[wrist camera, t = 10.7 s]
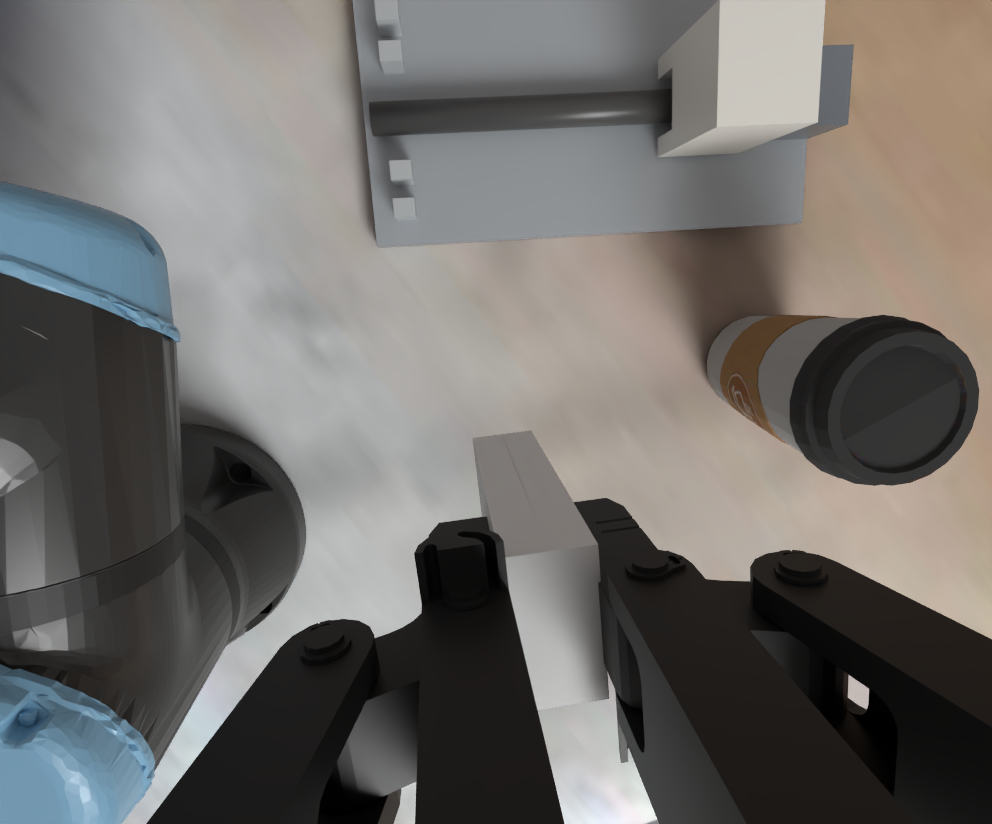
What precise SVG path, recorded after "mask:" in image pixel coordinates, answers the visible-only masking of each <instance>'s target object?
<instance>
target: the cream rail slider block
mask: <svg viewBox="0 0 992 824" xmlns="http://www.w3.org/2000/svg"><path fill="white" fill-rule="evenodd" d="M824 14H825V0H718V1H717V2H716V3H715V4H714V5H713V6H712V7H711V8H710V9H709V10H708V11H707V12H706V13H705V14H704V15H703V16H702V17H701V18H700V19H699V20H698V21H697V22H696V23H695V24H694V25H693V26H692V27H691V28H690V29H689V30H688V31H687V32H686V33H685V34H683V35H682V36H681V37H680V38H679V39H678V40H677V41H676V42H675V43H674V44H673V45H672V46H671V47H670V48H669V49H668V50H667V51H666V52H665V53H664V54H663V55H662V56H661V57H660V58H659V59H658V80H668V79H672V130H670V131H668V132H667V133H665V134H663V135H662V136H660V137H659V138H658V157H677V156H697V155H718V154H737V153H740V152H743V151H745V150H748V149H750V148H753V147H755V146H758V145H761V144H763V143H766V142H768V141H771V140H773V139H776V138H779V137H781V136H784V135H786V134H789V133H792V132H794V131H797V130H799V129H802V128H804V127H807V126H810V125H812V124H815V123H817V122H818V112H819V96H820V80H821V63H822V47H823V31H824Z"/></svg>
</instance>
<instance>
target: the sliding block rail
mask: <svg viewBox="0 0 992 824" xmlns="http://www.w3.org/2000/svg"><path fill="white" fill-rule="evenodd" d="M352 1H353V11H354V21H355V31H356V41H357V51H358V61H359V71H360V81H361V91H362V101H363V111H364V121H365V131H366V141H367V151H368V161H369V171H370V181H371V191H372V201H373V211H374V221H375V231H376V241H377V247H379V248H384V247H402V246H419V245H437V244H454V243H472V242H489V241H507V240H524V239H542V238H559V237H577V236H594V235H612V234H630V233H647V232H665V231H682V230H700V229H717V228H735V227H752V226H770V225H787V224H796V223H802V216H803V198H804V181H805V163H806V146H807V139H808V138H811V137H813V136H816V135H819V134H822V133H825V132H828V131H830V130H833V129H836V128H839V127H842V126H845V125H847V124H848V117H849V103H850V89H851V75H852V61H853V47H854V45H829V46H823V47H822V63H821V80H820V96H819V112H818V122H817V123H815V124H812V125H810V126H807V127H804V128H802V129H799V130H797V131H794V132H792V133H789V134H786V135H784V136H781V137H779V138H776V139H773V140H771V141H768V142H766V143H763V144H761V145H758V146H755V147H753V148H750V149H748V150H745V151H743V152H740V153H737V154H718V155H697V156H677V157H658V138H659V137H660V136H662V135H663V134H665V133H667V132H668V131H670V130H672V79H668V80H658V59H659V58H660V57H661V56H662V55H663V54H664V53H665V52H666V51H667V50H668V49H669V48H670V47H671V46H672V45H673V44H674V43H675V42H676V41H677V40H678V39H679V38H680V37H681V36H682V35H683V34H685V33H686V32H687V31H688V30H689V29H690V28H691V27H692V26H693V25H694V24H695V23H696V22H697V21H698V20H699V19H700V18H701V17H702V16H703V15H704V14H705V13H706V12H707V11H708V10H709V9H710V8H711V7H712V6H713V5H714V4H715V3H716V2H717V1H718V0H352Z"/></svg>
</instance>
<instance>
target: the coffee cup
mask: <svg viewBox="0 0 992 824" xmlns="http://www.w3.org/2000/svg"><path fill="white" fill-rule="evenodd" d="M707 375H708V378H709V381H710V384H711V387H712V388H713V390H714V391H715V393H716V394H717V395H718V396H719V397H720V398H721V399H722V400H724V401H725V402H726V403H727V404H729V405H730V406H732V407H733V408H734V409H736V410H737V411H738V412H739V413H741V414H742V415H743V416H745V417H746V418H748V419H749V420H751V421H752V422H754V423H755V424H756V425H758V426H759V427H761V428H762V429H764V430H765V431H767V432H768V433H770V434H771V435H773V436H774V437H776V438H777V439H779V440H780V441H782V442H784V443H787V444H789V445H791V446H792V447H794V448H795V449H797V450H798V451H800V452H801V453H803V454H804V456H805V457H806V459H807V460H809V461H810V462H811V463H812V464H814V465H815V466H816V467H817V468H818V469H820V470H821V471H823V472H826V473H828V474H830V475H833V476H835V477H838V478H842V479H845V480H847V481H850V482H852V483H856V484H865V485H874V486H875V485H881V484H883V485H898V484H904V483H911V482H913V481H916V480H918V479H920V478H923V477H925V476H928V475H930V474H931V473H933V472H934V471H936V470H937V469H938V468H940V467H941V466H943V465H944V464H946V463H947V462H948V461H949V460H950V459H951V457H952V456H953V455H954V454H955V453H956V452H957V451H958V450H959V449H960V448H961V446H962V445H963V443H964V441H965V439H966V438H967V436H968V434H969V433H970V431H971V429H972V426H973V423H974V420H975V417H976V414H977V410H978V398H979V387H978V382H977V377H976V372H975V370H974V368H973V366H972V364H971V362H970V360H969V359H968V357H967V355H966V354H965V353H964V352H963V351H962V350H961V349H960V348H959V347H958V346H957V345H956V344H955V343H954V342H952V341H950V340H948V339H947V338H946V337H945V336H944V335H943V334H942V333H941V332H940V331H937V330H935V329H933V328H931V327H929V326H927V325H925V324H923V323H920V322H915V321H910V320H908V319H905V318H901V317H894V316H887V315H879V316H872V317H865V318H837V317H829V316H802V315H779V316H749V317H744V318H742V319H739V320H737V321H734V322H733V323H731V324H730V325H728V326H727V327H726V328H724V329H723V330H722V331H721V333H720V334H719V335H718V336H717V337H716V339H715V340H714V342H713V344H712V346H711V348H710V350H709V355H708V359H707Z"/></svg>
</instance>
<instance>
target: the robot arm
mask: <svg viewBox="0 0 992 824" xmlns="http://www.w3.org/2000/svg"><path fill="white" fill-rule="evenodd" d="M176 342H180V333H179V331H178V329H177V328H176V327H175V326H174V324H173V316H172V307H171V298H170V289H169V280H168V271H167V263H166V259H165V256H164V253H163V251H162V249H161V247H160V245H159V244H158V242H157V241H156V240H155V238H154V237H153V236H152V235H151V234H150V233H149V232H148V231H147V230H145V229H144V228H143V227H142V226H140V225H139V224H137V223H136V222H134V221H132V220H131V219H128V218H126V217H124V216H122V215H120V214H117V213H115V212H112V211H109V210H106V209H103V208H100V207H97V206H94V205H91V204H87V203H84V202H81V201H77V200H73V199H69V198H66V197H62V196H58V195H54V194H50V193H47V192H43V191H39V190H35V189H31V188H26V187H22V186H18V185H14V184H10V183H5V182H1V181H0V824H122V823H123V822H124V820H125V819H126V817H127V816H128V815H129V813H130V812H131V811H132V809H133V808H134V807H135V805H136V804H137V803H138V802H139V801H140V800H141V799H142V798H143V797H144V795H145V793H146V791H147V790H148V788H149V787H150V785H151V784H152V782H151V781H152V779H153V778H154V771H155V770H156V768H157V766H158V764H159V763H160V761H161V759H162V757H163V756H164V754H165V752H166V750H167V748H168V747H169V745H170V743H171V741H172V740H173V738H174V736H175V734H176V733H177V731H178V729H179V727H180V726H181V724H182V722H183V720H184V719H185V717H186V715H187V713H188V712H189V710H190V708H191V706H192V705H193V703H194V701H195V699H196V698H197V696H198V694H199V692H200V691H201V689H202V687H203V685H204V684H205V682H206V680H207V678H208V677H209V675H210V673H211V671H212V669H213V668H214V666H215V664H216V662H217V661H218V659H219V657H220V655H221V654H222V652H223V650H224V648H225V647H226V646H227V645H228V644H230V643H231V642H233V641H234V640H236V639H237V638H239V637H240V636H242V635H243V634H244V633H245V632H247V631H249V630H250V629H252V628H253V627H255V626H256V625H257V624H259V623H260V622H261V621H263V620H264V619H265V618H266V617H267V616H268V615H269V614H270V613H272V611H273V610H274V609H275V608H276V607H277V606H278V605H279V603H280V602H281V601H282V599H283V598H284V597H285V595H286V593H287V592H288V590H289V588H290V586H291V584H292V582H293V580H294V578H295V576H296V574H297V572H298V570H299V567H300V565H301V562H302V559H303V555H304V550H305V544H306V525H305V518H304V513H303V509H302V506H301V503H300V500H299V497H298V495H297V493H296V491H295V489H294V487H293V485H292V484H291V482H290V480H289V479H288V477H287V476H286V475H285V473H284V472H283V471H282V469H281V468H280V467H279V466H278V465H277V464H276V463H275V462H274V461H273V460H272V459H271V458H270V457H269V456H268V455H267V454H265V453H264V452H263V451H261V450H260V449H259V448H257V447H256V446H254V445H253V444H251V443H250V442H248V441H246V440H244V439H242V438H240V437H238V436H236V435H234V434H231V433H229V432H226V431H223V430H220V429H216V428H212V427H207V426H201V425H192V424H180V409H179V389H178V369H177V348H176ZM473 445H474V453H475V462H476V470H477V478H478V487H479V495H480V503H481V512H482V517H479V518H472V519H465V520H457V521H450V522H443V523H439V524H438V525H437V526H436V527H435V528H434V530H433V531H432V532H431V533H430V534H429V538H427V539H426V540H425V541H423V542H422V543H421V544H420V545H418V547H417V549H416V551H415V553H414V555H415V561H416V568H417V575H418V581H419V588H420V595H421V601H422V613H421V614H420V615H419V616H418V617H417V618H416V619H415V620H414V621H413V622H411V623H409V624H408V625H406V626H404V627H403V628H401V629H398V630H396V631H394V632H391V633H389V634H386V635H383V636H380V637H378V638H374V634H373V632H372V630H371V628H370V627H369V626H368V625H366V624H364V623H362V622H360V621H356V620H347V619H341V620H333V621H332V620H328V621H324V622H320V624H318V623H317V624H314V625H312V626H309V627H308V628H306V629H304V630H303V631H301V632H299V633H297V634H296V635H294V636H292V637H291V638H290V639H289V640H288V641H287V642H286V643H285V644H284V645H283V646H282V647H281V648H280V649H279V650H278V652H277V653H276V654H275V656H274V657H273V658H272V659H271V661H270V662H269V663H268V665H267V666H266V667H265V669H264V670H263V671H262V673H261V674H260V675H259V677H258V678H257V679H256V680H255V682H254V683H253V684H252V686H251V687H250V688H249V690H248V691H247V692H246V694H245V695H244V696H243V698H242V699H241V700H240V701H239V703H238V704H237V705H236V707H235V708H234V709H233V711H232V712H231V713H230V715H229V716H228V717H227V719H226V720H225V721H224V723H223V724H222V725H221V726H220V728H219V729H218V730H217V732H216V733H215V734H214V736H213V737H212V738H211V740H210V741H209V742H208V744H207V745H206V746H205V747H204V749H203V750H202V751H201V753H200V754H199V755H198V757H197V758H196V759H195V761H194V762H193V763H192V765H191V766H190V767H189V768H188V770H187V771H186V772H185V774H184V775H183V776H182V778H181V779H180V780H179V782H178V783H177V784H176V786H175V787H174V788H173V789H172V791H171V792H170V793H169V795H168V796H167V797H166V799H165V800H164V801H163V803H162V804H161V805H160V807H159V808H158V809H157V811H156V812H155V813H154V814H153V816H152V817H151V818H150V820H149V821H148V822H147V824H393V823H394V820H395V817H396V814H397V811H398V808H399V805H400V796H401V788H403V787H405V786H407V785H409V784H411V783H414V782H416V781H417V783H416V816H415V824H564V820H563V816H562V812H561V808H560V803H559V799H558V795H557V791H556V786H555V782H554V778H553V774H552V770H551V765H550V761H549V757H548V753H547V749H546V744H545V740H544V736H543V732H542V727H541V723H540V719H539V715H538V711H537V710H542V709H548V708H554V707H560V706H567V705H573V704H579V703H585V702H591V701H597V700H604V699H609V690H608V676H607V671H608V673H609V676H610V678H611V680H612V683H613V685H614V687H615V691H616V705H617V720H618V735H619V749H620V758H621V763H624V762H628V752H627V749H628V748H629V749H630V752H631V754H632V757H633V759H634V762H635V764H636V767H637V769H638V772H639V774H640V777H641V779H642V782H643V784H644V787H645V789H646V792H647V794H648V797H649V799H650V802H651V804H652V807H653V809H654V812H655V814H656V817H657V819H658V822H659V824H992V639H990V638H988V637H986V636H984V635H982V634H980V633H978V632H976V631H974V630H972V629H970V628H968V627H966V626H964V625H962V624H960V623H958V622H956V621H954V620H952V619H950V618H948V617H946V616H944V615H942V614H940V613H938V612H936V611H934V610H932V609H930V608H928V607H926V606H924V605H922V604H920V603H918V602H916V601H914V600H912V599H910V598H908V597H906V596H904V595H902V594H900V593H898V592H896V591H894V590H892V589H890V588H888V587H886V586H884V585H882V584H880V583H878V582H876V581H874V580H872V579H870V578H868V577H866V576H864V575H862V574H860V573H858V572H856V571H854V570H852V569H850V568H848V567H846V566H844V565H842V564H840V563H838V562H836V561H833V560H831V559H828V558H825V557H823V556H820V555H816V554H810V553H806V552H804V551H798V550H792V551H790V550H783V551H779V552H774V553H768V554H765V555H763V556H761V557H759V558H757V559H755V560H754V562H753V564H752V565H751V567H750V582H746V581H719V580H708V579H705V578H704V577H703V576H702V574H701V573H700V572H699V571H698V570H697V569H696V567H695V566H694V565H693V564H692V563H691V562H690V561H688V560H687V559H686V558H684V557H683V556H680V555H678V554H675V553H672V552H669V551H662V550H658V549H657V548H656V547H655V545H654V544H653V543H652V542H651V540H650V539H649V538H648V537H647V535H646V534H645V533H644V532H643V530H642V529H641V528H639V525H638V524H637V523H636V521H635V520H634V519H632V516H631V515H630V514H629V513H628V511H627V510H626V509H625V507H624V506H622V505H620V504H618V503H616V502H614V501H612V500H610V499H607V498H602V499H595V500H588V501H581V502H573V501H572V499H571V497H570V496H569V494H568V492H567V491H566V489H565V487H564V486H563V484H562V482H561V480H560V479H559V477H558V475H557V474H556V472H555V470H554V469H553V467H552V465H551V464H550V462H549V460H548V458H547V457H546V455H545V453H544V452H543V450H542V448H541V447H540V445H539V443H538V442H537V440H536V438H535V436H534V435H533V433H532V431H525V432H517V433H509V434H501V435H494V436H486V437H478V438H473ZM848 675H850V676H852V677H853V678H855V679H856V680H857V681H859V682H860V683H862V684H863V685H865V686H866V687H868V688H869V705H868V709H864V708H862V707H861V706H859V705H857V704H856V703H854V702H853V701H852V700H850V699H849V698H848Z"/></svg>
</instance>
